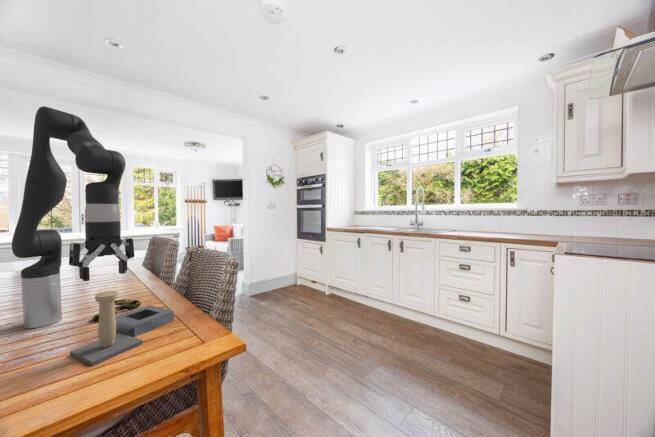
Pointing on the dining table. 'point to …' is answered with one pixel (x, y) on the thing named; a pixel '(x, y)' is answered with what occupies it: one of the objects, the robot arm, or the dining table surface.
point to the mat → (105, 349)
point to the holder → (143, 320)
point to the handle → (107, 317)
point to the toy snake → (122, 306)
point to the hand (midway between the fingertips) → (104, 276)
